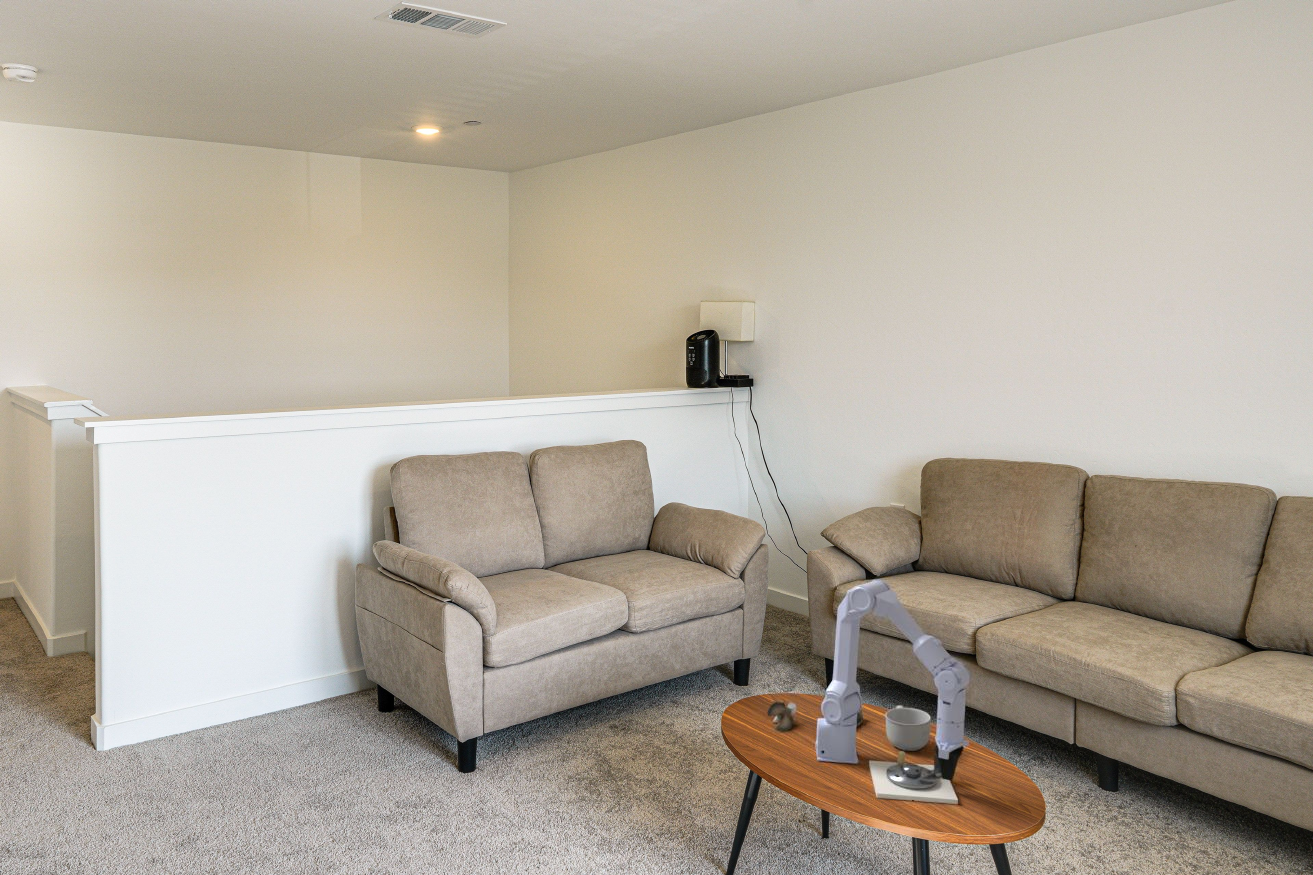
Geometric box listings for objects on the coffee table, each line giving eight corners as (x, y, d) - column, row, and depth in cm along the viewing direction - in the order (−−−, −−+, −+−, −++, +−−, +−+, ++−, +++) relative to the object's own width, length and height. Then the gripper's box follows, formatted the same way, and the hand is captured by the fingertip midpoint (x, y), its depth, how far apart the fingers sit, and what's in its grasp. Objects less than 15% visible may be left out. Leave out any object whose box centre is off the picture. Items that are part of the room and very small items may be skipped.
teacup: (931, 756, 221) (933, 724, 221) (885, 752, 223) (887, 720, 223) (925, 734, 235) (926, 704, 234) (881, 730, 237) (883, 700, 236)
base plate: (876, 797, 199) (877, 779, 199) (868, 764, 216) (869, 747, 216) (957, 804, 197) (958, 786, 197) (943, 770, 214) (944, 753, 214)
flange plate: (903, 791, 200) (904, 772, 199) (877, 770, 210) (877, 751, 210) (962, 783, 204) (963, 764, 204) (933, 763, 215) (934, 745, 214)
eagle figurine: (764, 712, 245) (759, 718, 236) (779, 690, 244) (776, 696, 236) (787, 731, 243) (783, 737, 234) (803, 709, 242) (800, 715, 234)
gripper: (964, 733, 193) (960, 795, 194) (974, 711, 206) (971, 770, 207) (929, 726, 197) (926, 788, 198) (942, 705, 210) (939, 763, 211)
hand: (947, 778), depth 203 cm, fingers closed
